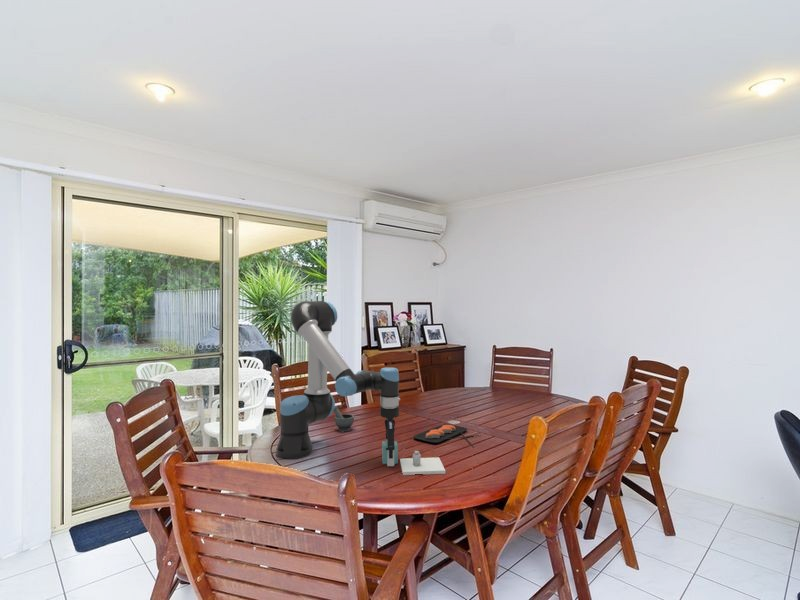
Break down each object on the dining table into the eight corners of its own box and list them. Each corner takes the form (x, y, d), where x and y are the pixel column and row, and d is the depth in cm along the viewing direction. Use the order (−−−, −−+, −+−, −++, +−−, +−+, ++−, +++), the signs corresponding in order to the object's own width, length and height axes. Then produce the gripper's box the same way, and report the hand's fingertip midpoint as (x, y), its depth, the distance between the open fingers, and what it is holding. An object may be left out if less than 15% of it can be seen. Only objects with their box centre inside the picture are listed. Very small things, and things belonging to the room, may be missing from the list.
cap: (382, 463, 177) (382, 446, 177) (382, 458, 183) (382, 441, 183) (397, 463, 177) (397, 445, 177) (396, 458, 183) (396, 441, 183)
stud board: (402, 475, 165) (402, 458, 165) (399, 461, 179) (399, 446, 179) (445, 473, 167) (445, 457, 167) (439, 460, 181) (439, 445, 181)
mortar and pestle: (356, 428, 227) (356, 404, 227) (350, 433, 218) (350, 408, 218) (335, 426, 229) (335, 403, 229) (329, 432, 220) (329, 407, 220)
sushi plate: (445, 427, 230) (445, 419, 230) (498, 438, 211) (498, 430, 211) (410, 440, 208) (410, 432, 208) (466, 454, 189) (466, 445, 189)
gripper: (401, 413, 169) (401, 471, 169) (396, 399, 192) (397, 450, 192) (381, 414, 168) (381, 471, 168) (379, 400, 192) (379, 450, 192)
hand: (389, 460), depth 180 cm, fingers open, 11 cm apart
